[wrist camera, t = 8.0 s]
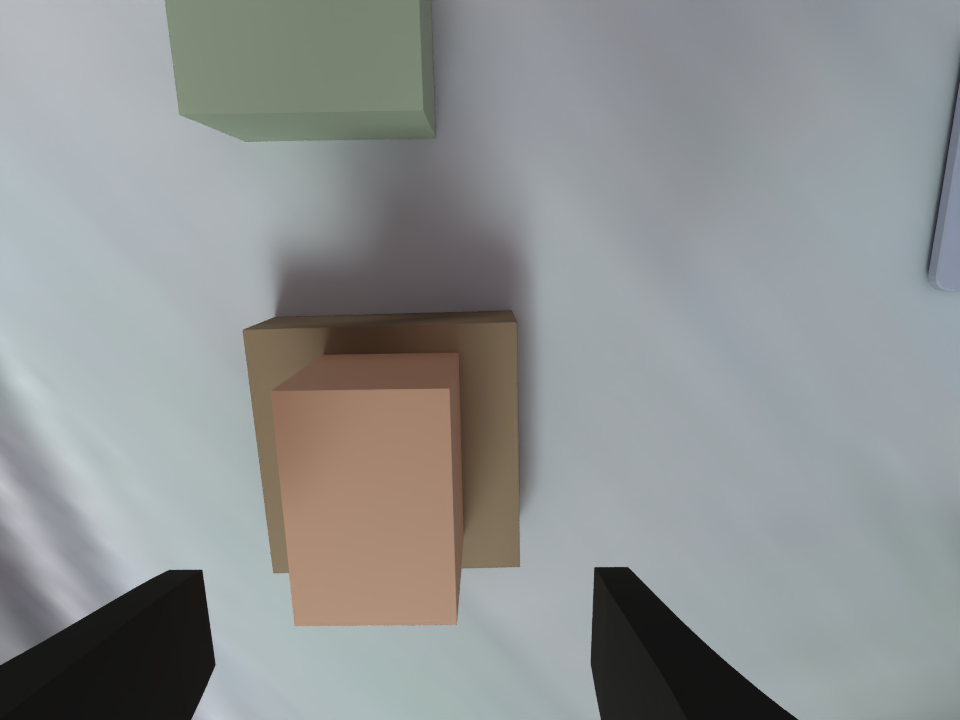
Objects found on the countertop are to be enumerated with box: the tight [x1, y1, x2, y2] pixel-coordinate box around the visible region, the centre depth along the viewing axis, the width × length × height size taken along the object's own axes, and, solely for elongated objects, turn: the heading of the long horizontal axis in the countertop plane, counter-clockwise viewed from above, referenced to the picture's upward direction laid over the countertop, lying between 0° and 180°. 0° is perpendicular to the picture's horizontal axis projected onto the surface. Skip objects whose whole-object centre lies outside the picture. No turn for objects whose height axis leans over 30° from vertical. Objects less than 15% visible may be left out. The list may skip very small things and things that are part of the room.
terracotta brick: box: [270, 353, 464, 626], centre depth 15 cm, size 6×4×4 cm, turn 1°
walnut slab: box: [243, 311, 520, 573], centre depth 18 cm, size 8×8×3 cm
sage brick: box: [165, 0, 436, 142], centre depth 15 cm, size 6×4×4 cm, turn 91°
